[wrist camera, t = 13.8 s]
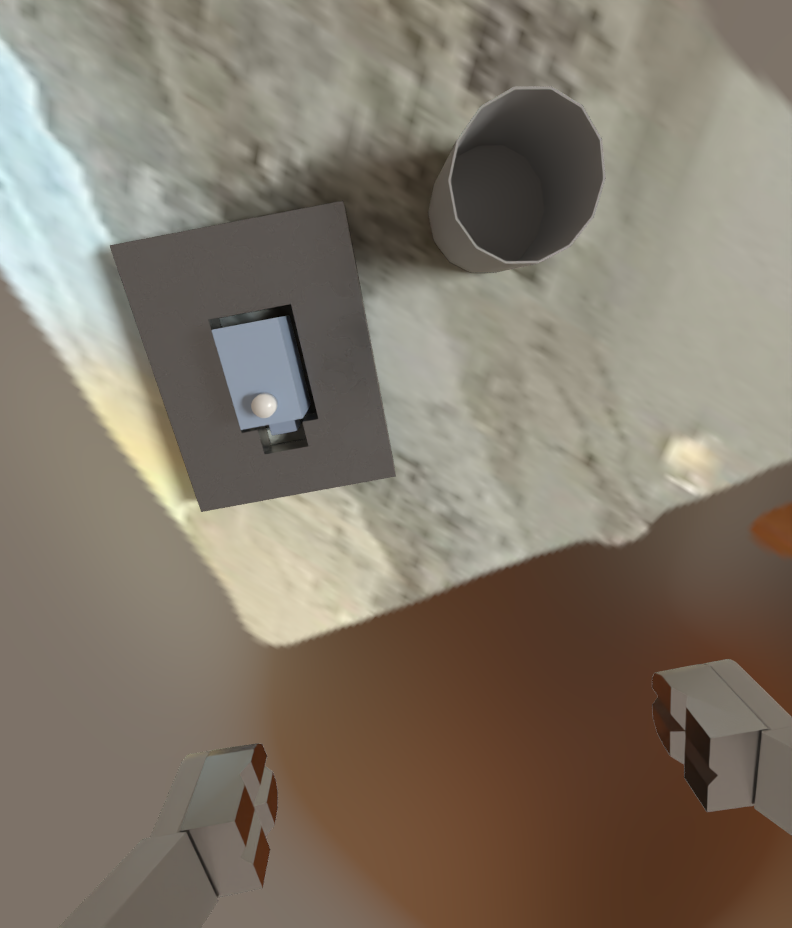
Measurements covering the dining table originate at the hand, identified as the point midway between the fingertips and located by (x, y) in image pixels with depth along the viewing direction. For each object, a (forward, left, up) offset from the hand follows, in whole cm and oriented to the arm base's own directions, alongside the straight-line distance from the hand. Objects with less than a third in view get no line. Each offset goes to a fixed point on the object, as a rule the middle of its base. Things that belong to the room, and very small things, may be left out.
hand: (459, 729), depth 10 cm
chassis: (+9, -5, -31) cm, 33 cm away
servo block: (+9, -5, -31) cm, 33 cm away
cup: (-9, -13, -31) cm, 35 cm away
